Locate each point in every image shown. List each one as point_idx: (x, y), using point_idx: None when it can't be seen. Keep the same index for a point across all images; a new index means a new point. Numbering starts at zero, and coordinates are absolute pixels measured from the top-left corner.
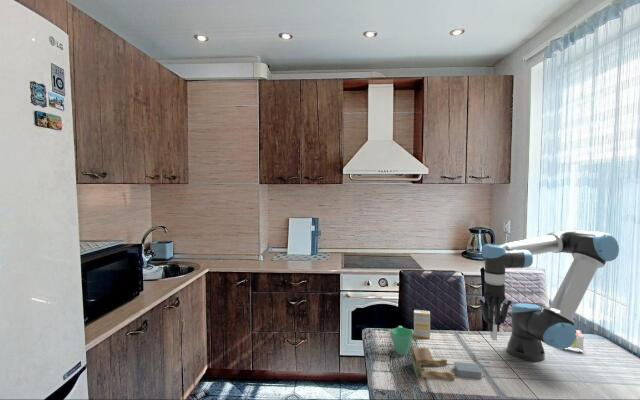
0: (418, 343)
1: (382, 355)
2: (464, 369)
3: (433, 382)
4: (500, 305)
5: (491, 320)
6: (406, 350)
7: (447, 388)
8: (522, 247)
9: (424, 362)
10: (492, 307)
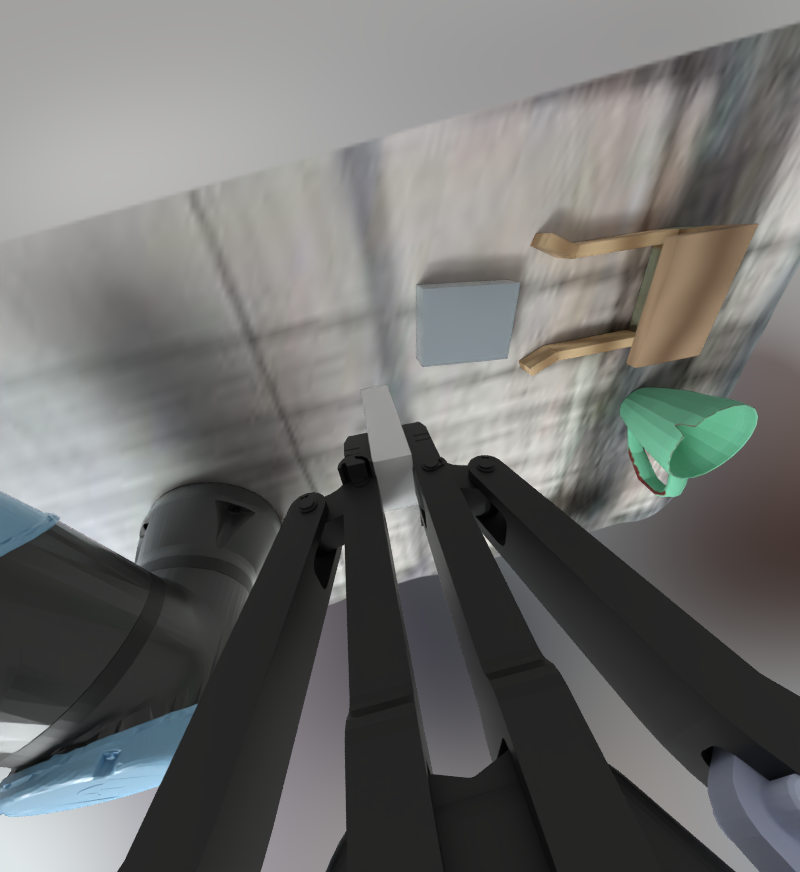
0: (557, 475)
1: (710, 364)
2: (489, 298)
3: (626, 192)
4: (354, 829)
5: (443, 482)
6: (648, 395)
7: (590, 145)
8: None
9: (710, 230)
10: (531, 682)
